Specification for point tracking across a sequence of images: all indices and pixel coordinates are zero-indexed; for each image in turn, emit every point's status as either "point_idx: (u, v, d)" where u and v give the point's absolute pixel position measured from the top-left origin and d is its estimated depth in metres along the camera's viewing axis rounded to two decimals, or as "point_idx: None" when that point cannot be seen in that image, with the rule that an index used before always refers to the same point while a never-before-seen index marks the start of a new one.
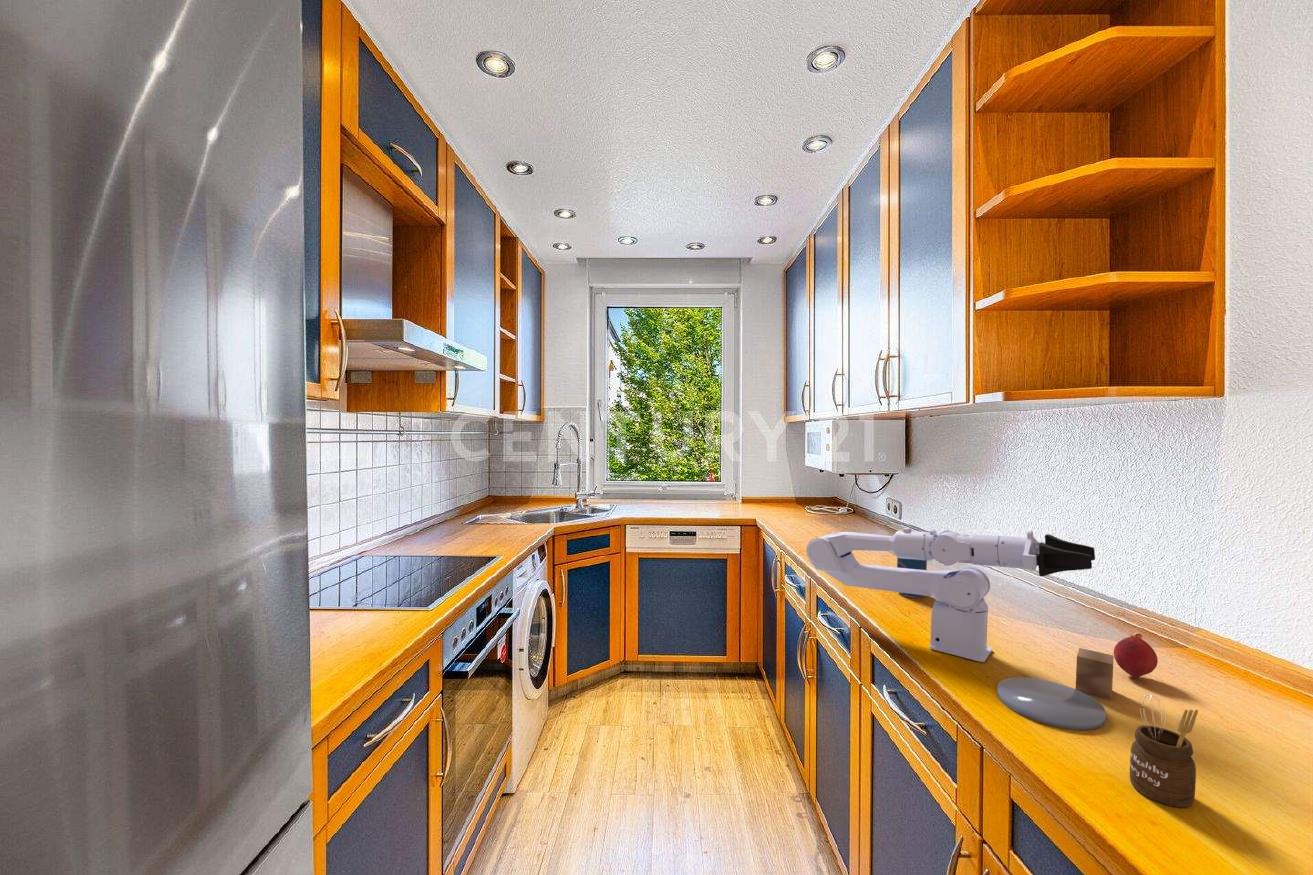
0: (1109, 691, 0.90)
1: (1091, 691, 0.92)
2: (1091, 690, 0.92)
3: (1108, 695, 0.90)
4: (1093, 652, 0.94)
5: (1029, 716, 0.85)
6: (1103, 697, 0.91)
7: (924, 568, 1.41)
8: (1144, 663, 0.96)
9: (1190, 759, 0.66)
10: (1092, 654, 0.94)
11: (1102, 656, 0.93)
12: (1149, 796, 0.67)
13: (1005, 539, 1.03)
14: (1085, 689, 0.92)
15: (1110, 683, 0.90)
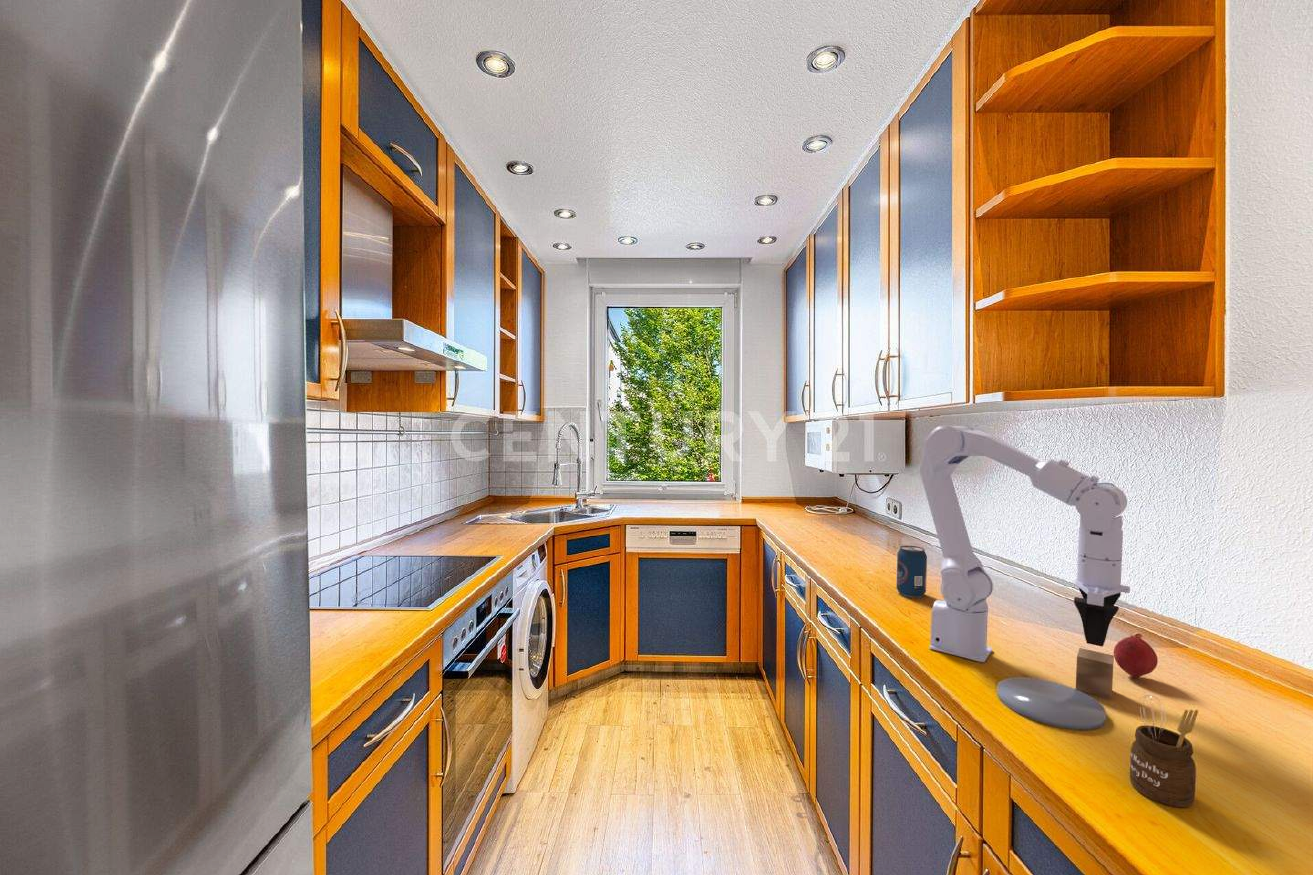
0: (1109, 691, 0.90)
1: (1091, 691, 0.92)
2: (1091, 690, 0.92)
3: (1108, 695, 0.90)
4: (1093, 652, 0.94)
5: (1029, 716, 0.85)
6: (1103, 697, 0.91)
7: (924, 568, 1.41)
8: (1144, 663, 0.96)
9: (1190, 759, 0.66)
10: (1092, 654, 0.94)
11: (1102, 656, 0.93)
12: (1149, 796, 0.67)
13: (1118, 567, 0.90)
14: (1085, 689, 0.92)
15: (1110, 683, 0.90)
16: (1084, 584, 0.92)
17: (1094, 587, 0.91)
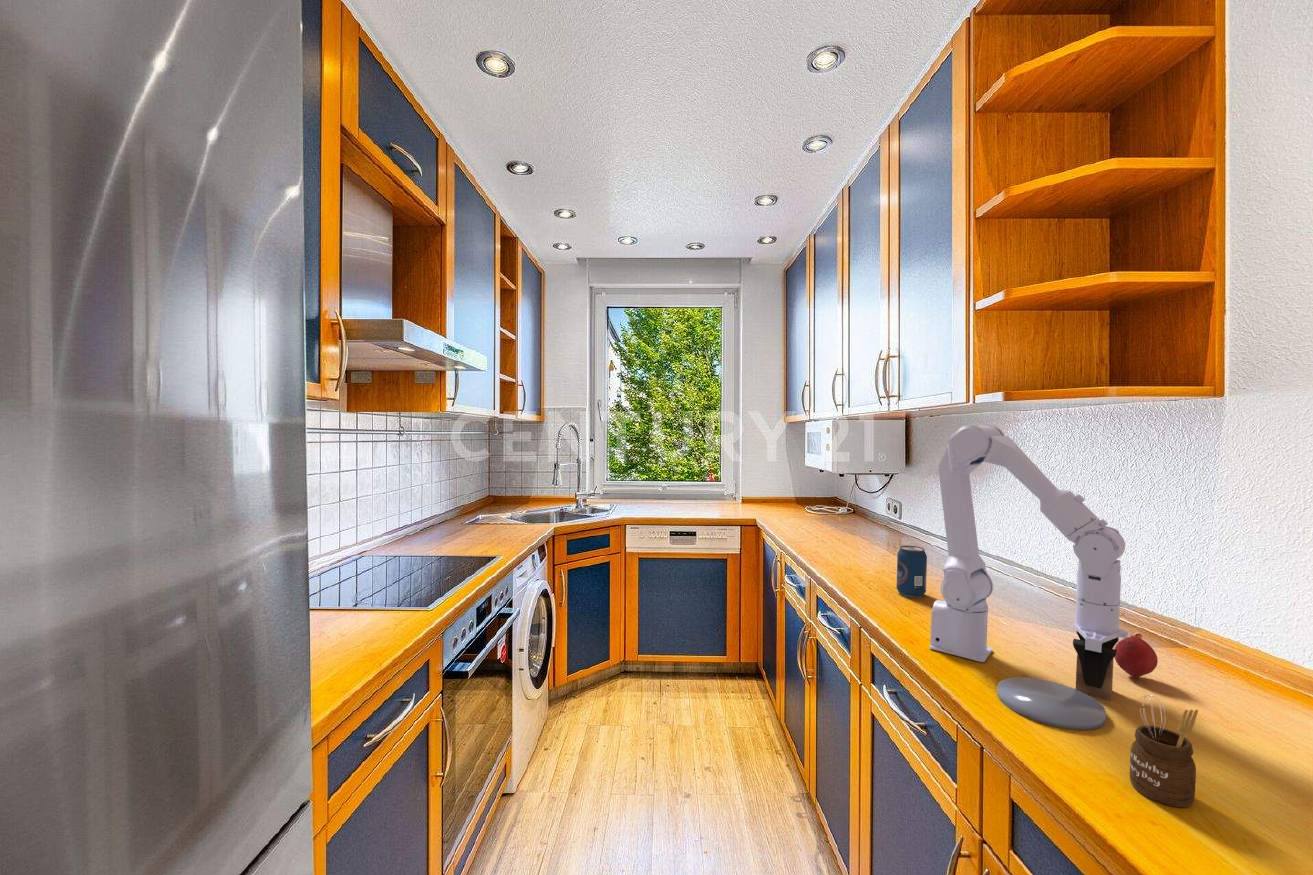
0: (1109, 691, 0.90)
1: (1091, 691, 0.92)
2: (1091, 690, 0.92)
3: (1108, 695, 0.90)
4: None
5: (1029, 716, 0.85)
6: (1103, 697, 0.91)
7: (924, 568, 1.41)
8: (1144, 663, 0.96)
9: (1190, 759, 0.66)
10: None
11: None
12: (1149, 796, 0.67)
13: (1116, 612, 0.90)
14: (1085, 689, 0.92)
15: (1110, 683, 0.90)
16: (1082, 628, 0.92)
17: (1092, 631, 0.91)
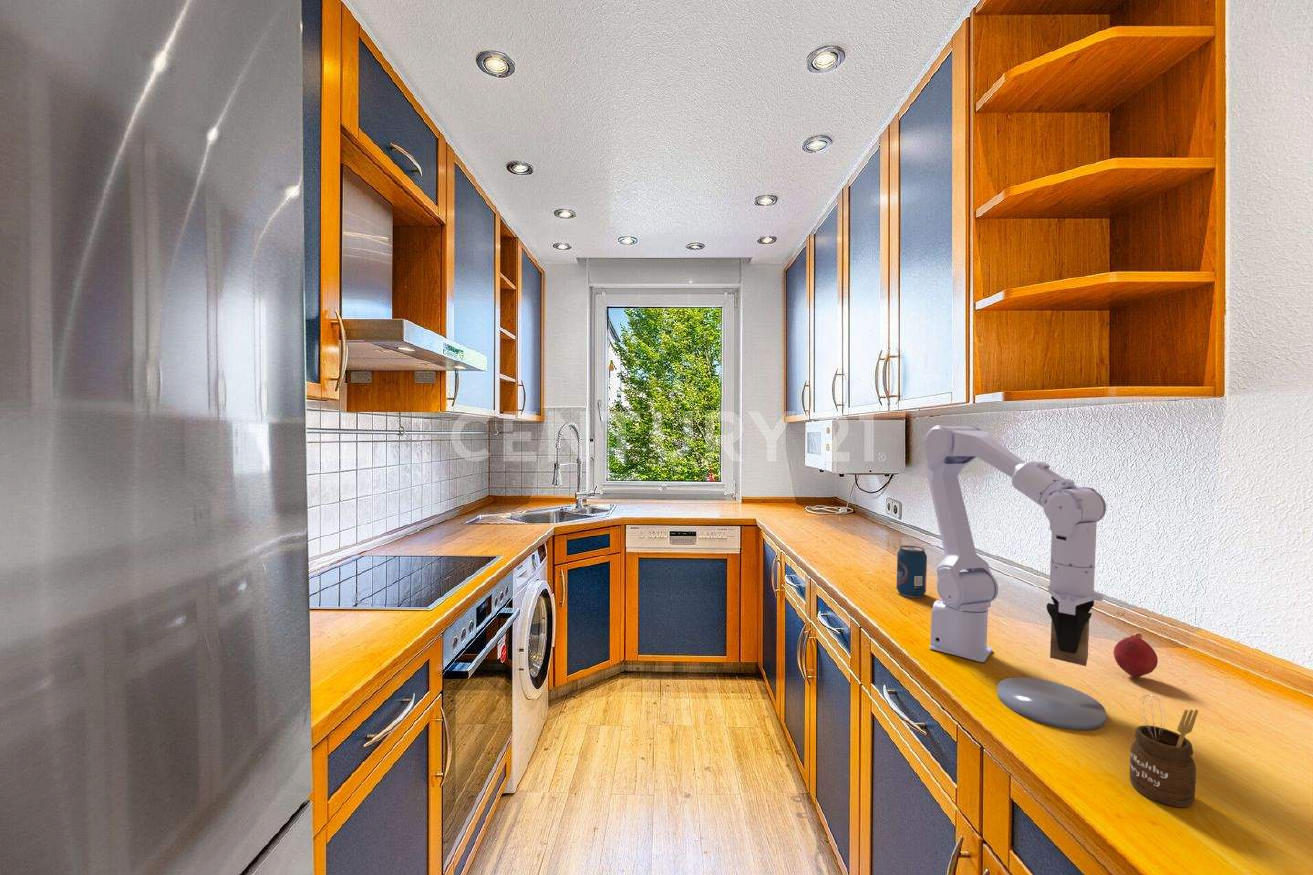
0: (1084, 656, 0.87)
1: (1066, 657, 0.88)
2: (1066, 656, 0.88)
3: (1083, 660, 0.87)
4: None
5: (1029, 716, 0.85)
6: (1078, 662, 0.88)
7: (924, 568, 1.41)
8: (1144, 663, 0.96)
9: (1190, 759, 0.66)
10: None
11: None
12: (1149, 796, 0.67)
13: (1090, 574, 0.87)
14: (1060, 655, 0.89)
15: (1085, 648, 0.87)
16: (1056, 591, 0.89)
17: (1066, 595, 0.88)
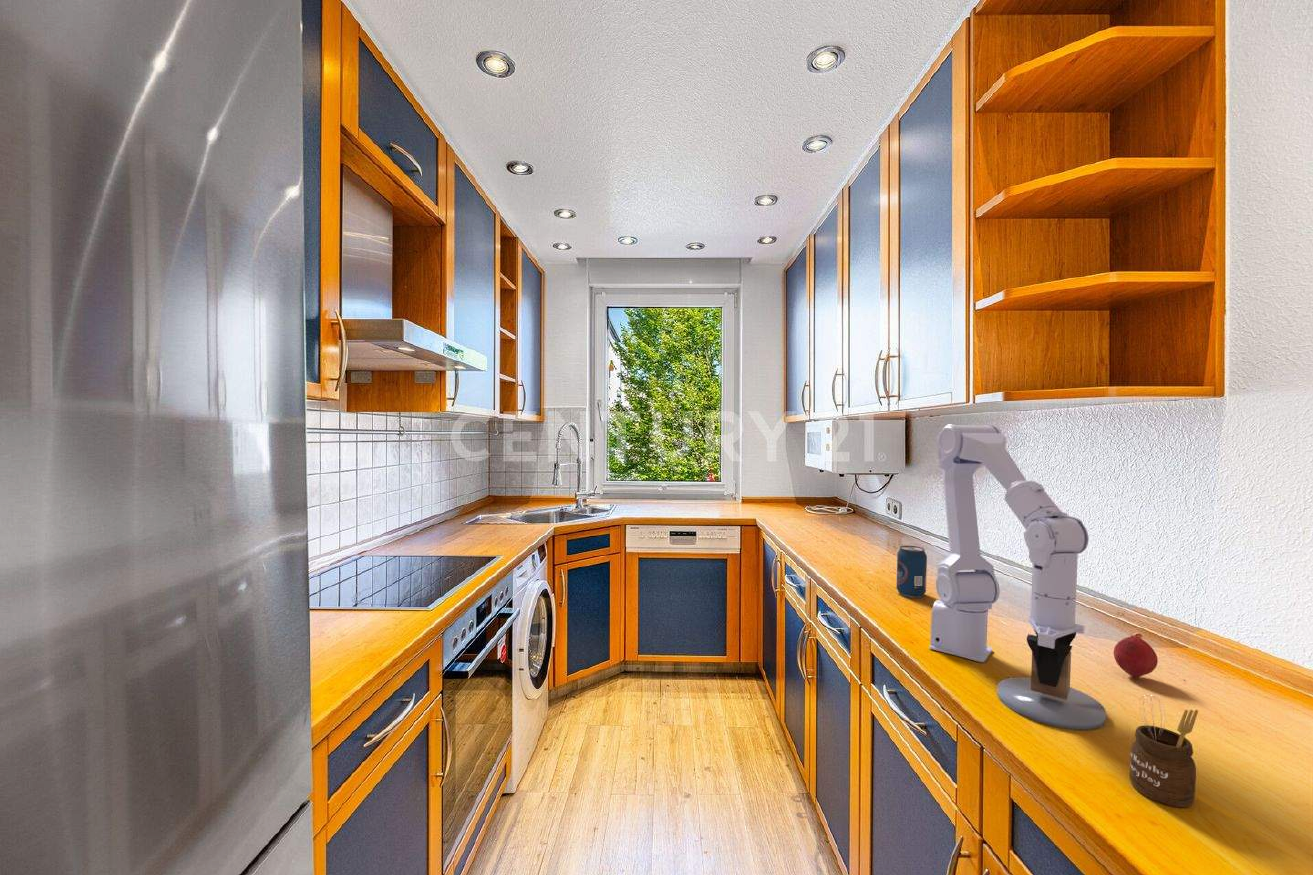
0: (1065, 689, 0.85)
1: (1046, 689, 0.87)
2: (1046, 688, 0.87)
3: (1064, 694, 0.85)
4: None
5: (1029, 716, 0.85)
6: (1059, 696, 0.86)
7: (924, 568, 1.41)
8: (1144, 663, 0.96)
9: (1190, 759, 0.66)
10: None
11: None
12: (1149, 796, 0.67)
13: (1071, 606, 0.85)
14: (1040, 687, 0.87)
15: (1066, 681, 0.85)
16: (1037, 623, 0.87)
17: (1047, 626, 0.86)
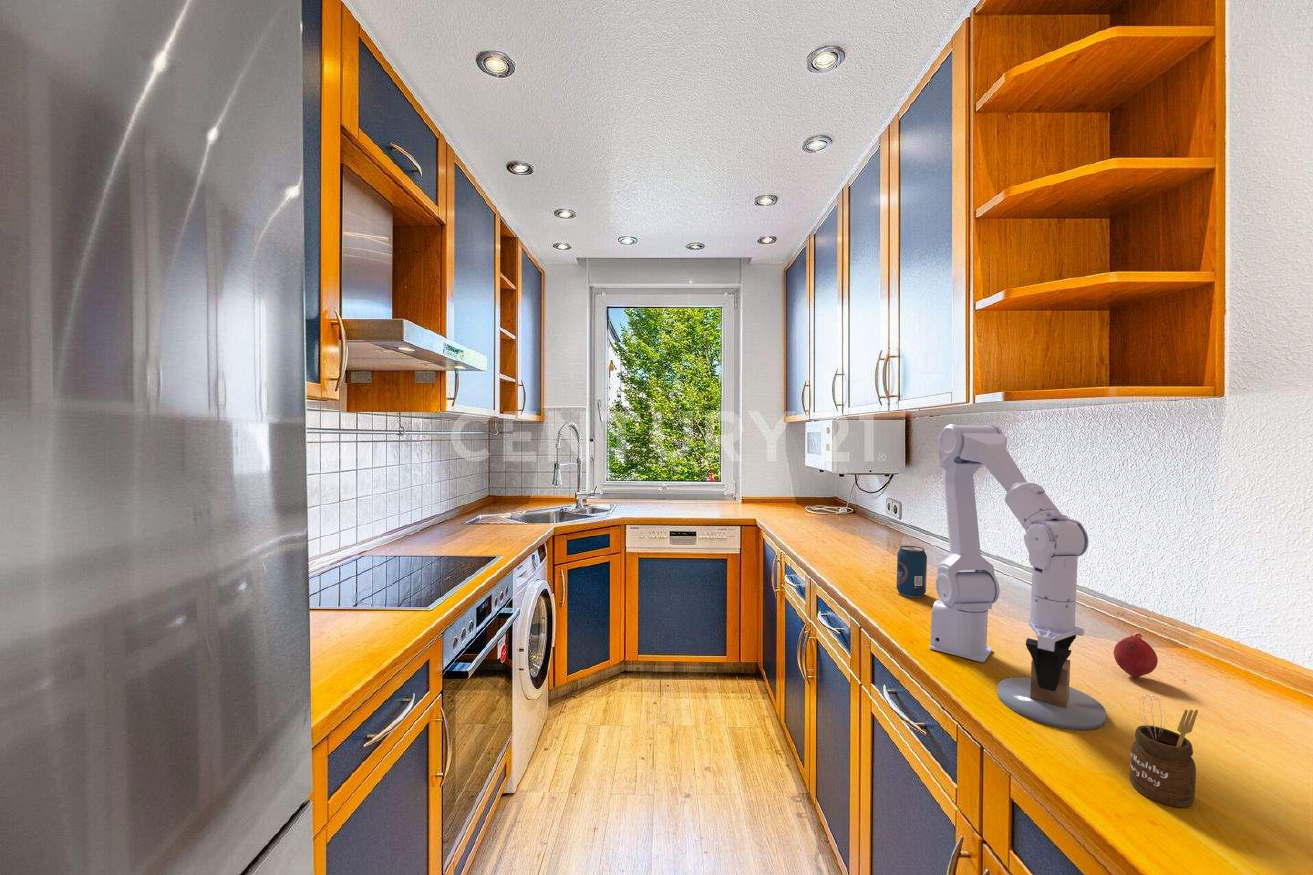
0: (1064, 698, 0.85)
1: (1046, 698, 0.87)
2: (1046, 697, 0.87)
3: (1063, 702, 0.85)
4: None
5: (1029, 716, 0.85)
6: (1058, 704, 0.86)
7: (924, 568, 1.41)
8: (1144, 663, 0.96)
9: (1190, 759, 0.66)
10: None
11: None
12: (1149, 796, 0.67)
13: (1071, 608, 0.85)
14: (1040, 696, 0.87)
15: (1065, 690, 0.85)
16: (1037, 625, 0.87)
17: (1046, 629, 0.86)
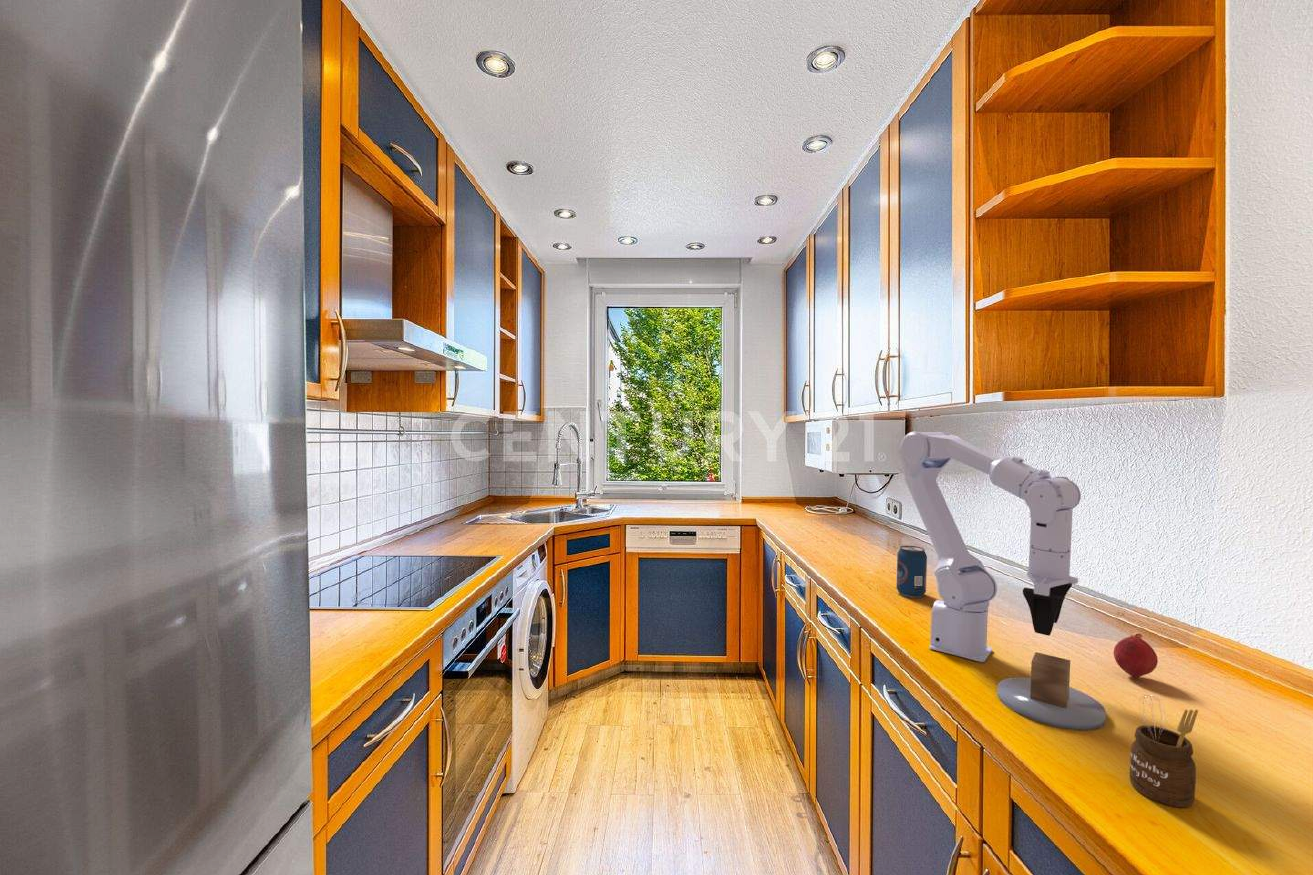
0: (1064, 698, 0.85)
1: (1046, 698, 0.87)
2: (1046, 697, 0.87)
3: (1063, 702, 0.85)
4: (1049, 657, 0.89)
5: (1029, 716, 0.85)
6: (1058, 705, 0.86)
7: (924, 568, 1.41)
8: (1144, 663, 0.96)
9: (1190, 759, 0.66)
10: (1048, 659, 0.89)
11: (1058, 661, 0.88)
12: (1149, 796, 0.67)
13: (1066, 558, 0.92)
14: (1040, 696, 0.87)
15: (1065, 690, 0.85)
16: (1034, 575, 0.94)
17: (1043, 578, 0.93)
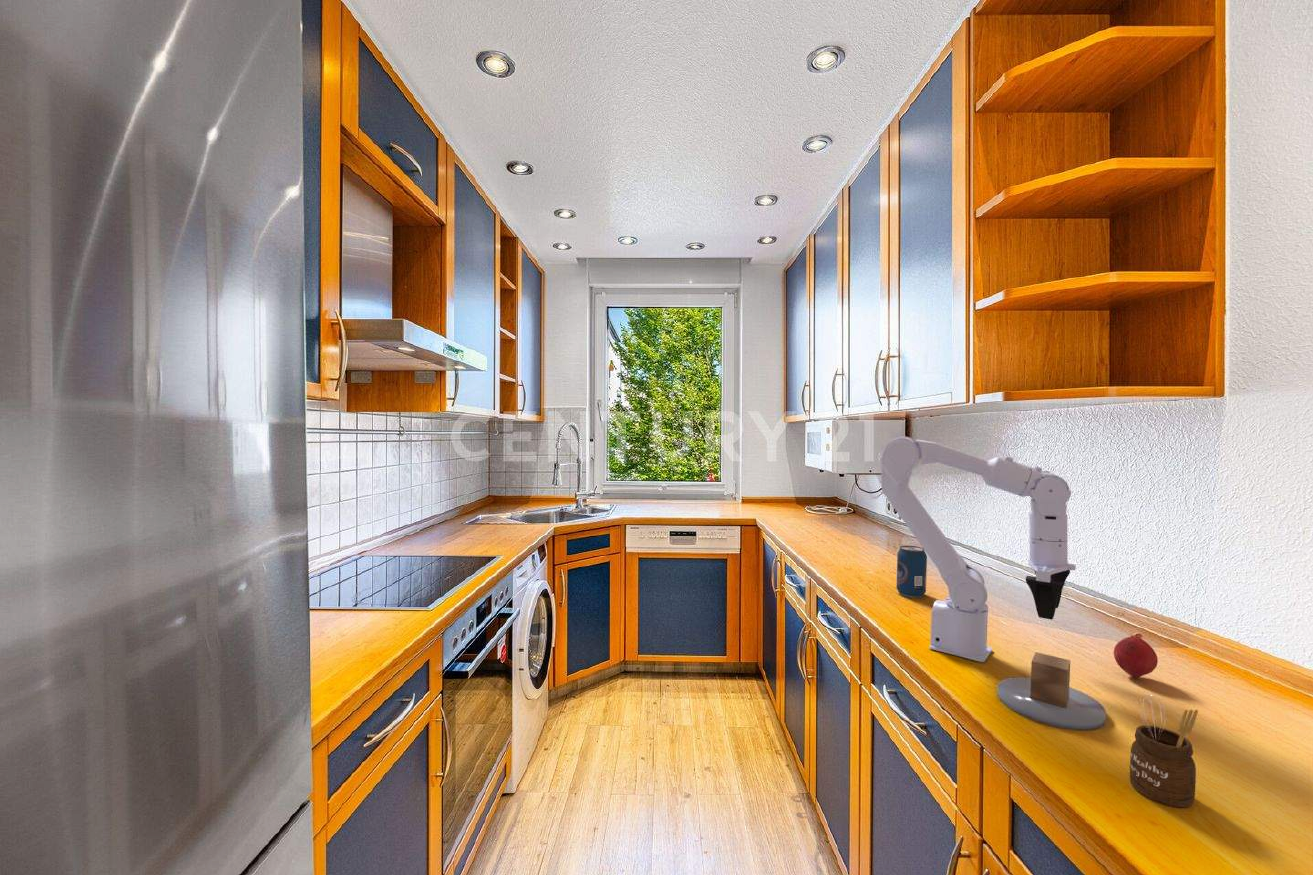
0: (1064, 698, 0.85)
1: (1046, 698, 0.87)
2: (1046, 697, 0.87)
3: (1063, 702, 0.85)
4: (1049, 657, 0.89)
5: (1029, 716, 0.85)
6: (1058, 705, 0.86)
7: (924, 568, 1.41)
8: (1144, 663, 0.96)
9: (1190, 759, 0.66)
10: (1048, 659, 0.89)
11: (1058, 661, 0.88)
12: (1149, 796, 0.67)
13: (1063, 547, 1.00)
14: (1040, 696, 0.87)
15: (1065, 690, 0.85)
16: (1035, 564, 1.02)
17: (1043, 566, 1.00)
